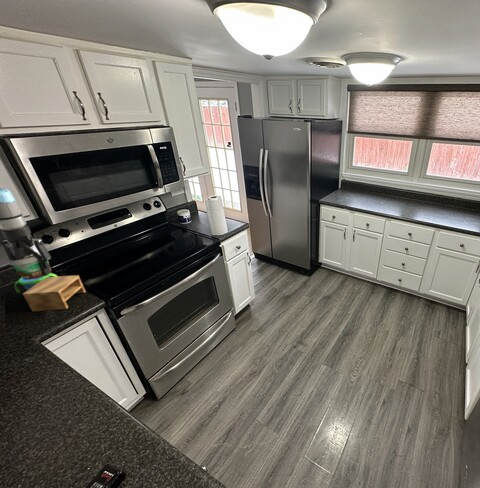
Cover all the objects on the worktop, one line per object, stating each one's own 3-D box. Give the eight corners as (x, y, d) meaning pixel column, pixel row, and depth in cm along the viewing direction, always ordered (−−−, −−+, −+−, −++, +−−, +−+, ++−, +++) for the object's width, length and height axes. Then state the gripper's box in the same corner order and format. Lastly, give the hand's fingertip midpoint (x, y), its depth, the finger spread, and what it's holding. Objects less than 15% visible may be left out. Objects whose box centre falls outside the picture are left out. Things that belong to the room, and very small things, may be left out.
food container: (28, 283, 112) (17, 263, 108) (19, 281, 114) (7, 260, 109) (61, 269, 123) (52, 250, 118) (52, 267, 124) (43, 248, 120)
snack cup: (17, 303, 127) (6, 285, 123) (25, 291, 135) (16, 275, 131) (60, 294, 134) (51, 277, 130) (65, 284, 142) (58, 267, 138)
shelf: (32, 311, 122) (22, 293, 118) (54, 293, 135) (46, 277, 130) (66, 308, 124) (58, 291, 120) (85, 291, 137) (78, 275, 133)
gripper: (48, 223, 113) (69, 269, 123) (-5, 224, 110) (21, 271, 120) (33, 229, 106) (57, 278, 116) (-24, 231, 103) (6, 280, 113)
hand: (39, 274), depth 118 cm, fingers closed on food container, 7 cm apart
